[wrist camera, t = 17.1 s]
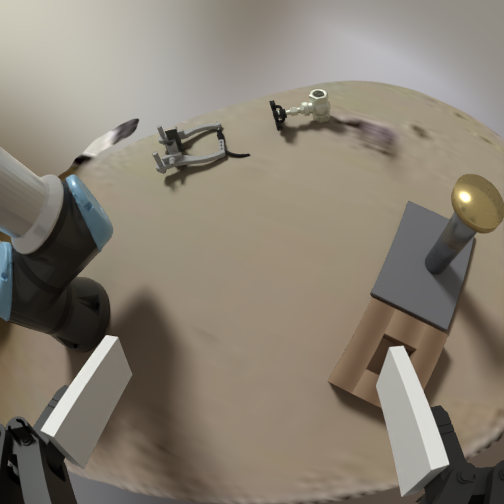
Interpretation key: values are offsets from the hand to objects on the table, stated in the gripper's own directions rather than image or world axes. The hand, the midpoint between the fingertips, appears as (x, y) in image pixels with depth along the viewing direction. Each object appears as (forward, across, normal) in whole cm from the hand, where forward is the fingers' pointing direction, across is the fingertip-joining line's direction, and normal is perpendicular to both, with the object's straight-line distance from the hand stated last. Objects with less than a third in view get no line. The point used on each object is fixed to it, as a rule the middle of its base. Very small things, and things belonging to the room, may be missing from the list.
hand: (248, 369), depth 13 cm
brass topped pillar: (+26, +25, -7) cm, 36 cm away
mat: (+27, +24, -7) cm, 37 cm away
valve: (+54, +7, +13) cm, 56 cm away
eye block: (+18, +16, -18) cm, 30 cm away
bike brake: (+54, -15, +8) cm, 56 cm away
